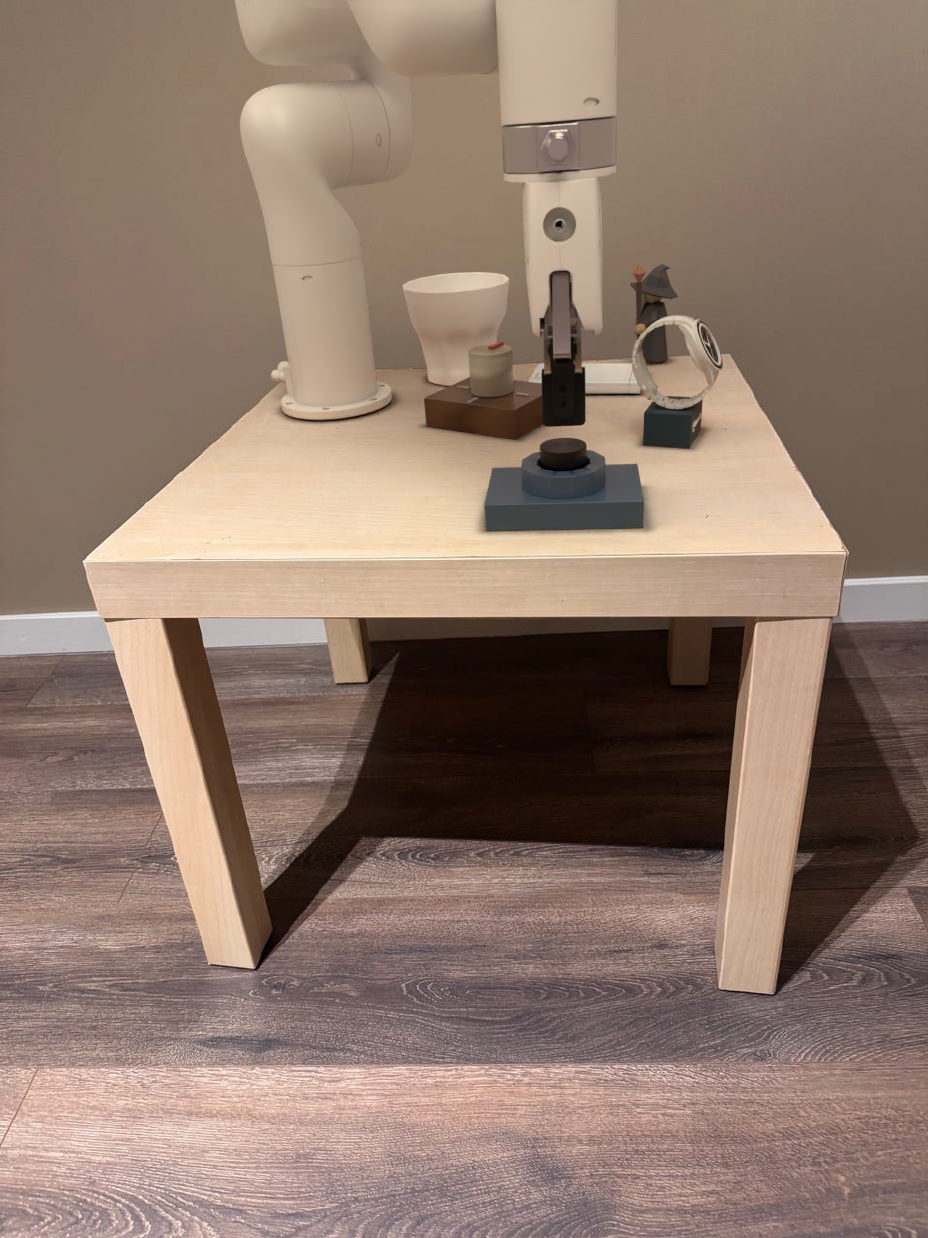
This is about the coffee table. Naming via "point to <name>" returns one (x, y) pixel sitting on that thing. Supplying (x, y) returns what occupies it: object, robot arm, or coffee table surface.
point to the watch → (673, 415)
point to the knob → (491, 370)
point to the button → (563, 454)
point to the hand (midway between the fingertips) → (564, 422)
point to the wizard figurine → (652, 310)
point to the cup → (455, 319)
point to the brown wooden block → (486, 410)
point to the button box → (564, 496)
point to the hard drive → (603, 378)
